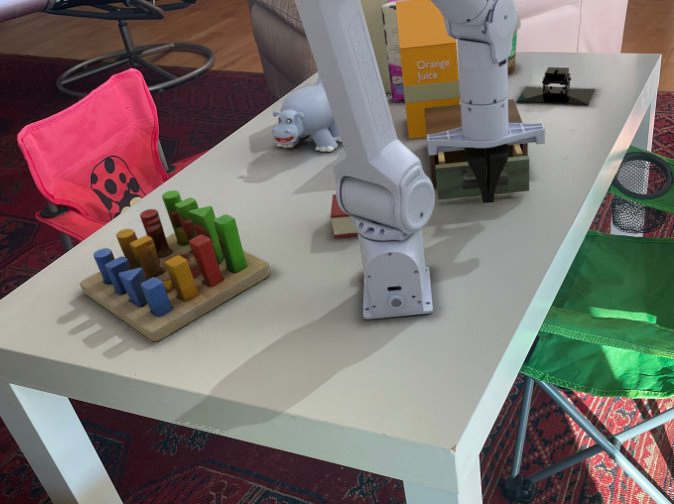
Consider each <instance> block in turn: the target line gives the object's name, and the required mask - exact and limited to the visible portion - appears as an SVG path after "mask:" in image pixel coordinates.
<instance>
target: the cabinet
mask: <svg viewBox="0 0 674 504" xmlns="http://www.w3.org/2000/svg"><path fill="white" fill-rule="evenodd" d="M424 111H425V123H426V134H427V135H429V134H436V133H441V132H445V131H449V130H453V129H456V128H460V127H462V119H461V104H460V105H451V106H442V107H432V108H424ZM508 123H524V122H523V120H522V118H521V114H520V111H519V109H518V107H517V104H516V102H515V99H514V98H508ZM426 144H427V143H426ZM519 145H520V148H521V151H522V156H528V157H529V154H528V153H529V143H524V144H519ZM427 147H428V144H427ZM427 154H428V153H427ZM428 162H429V171H430V180H431V182H432V184H433V188H434V189H437V180H436V168H435V165H438V162H437V154H436V155H429V154H428Z"/></svg>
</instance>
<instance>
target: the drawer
mask: <svg viewBox="0 0 674 504" xmlns="http://www.w3.org/2000/svg"><path fill="white" fill-rule="evenodd" d="M484 150H485V156H486V148H484ZM508 151H509V157H508V161H507V163H506V164H505V166H504V168H503V170H502V172H501V175H500V177H499V180H498V183H497V186H496V190H495V195H501V194H502V195H503V194H511V193H512V194H513V193H522V192H529V191H530V157H529V155H528V156H522V151H521V148H520V145H519V144H515V145H508ZM437 162H438V165H435V168H436V180H437V188H436V191H437V200H438V201H442V200H451V199H452V200H453V199H462V198H473V197H482V195H481V190H480V187H479V184H478V181H477V179H476V177H475V175H474V173H473V171H472V169H471V168H470V166H469V164H468V162H467V160H466V155H465V150H456V151H446V152H437Z"/></svg>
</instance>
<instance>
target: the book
mask: <svg viewBox="0 0 674 504" xmlns="http://www.w3.org/2000/svg"><path fill="white" fill-rule="evenodd" d="M330 220H331V226H332V229H333V236H334V239H341V238H351V237H358V232H357V228H356V227H355V226H353V225H352V223H351V217H350V215H348V214H346V213H344V212H343V211H342V210H341V209H340V207H339V205H338V202H337V198H336V193H335V194H332V199H331V208H330Z"/></svg>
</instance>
